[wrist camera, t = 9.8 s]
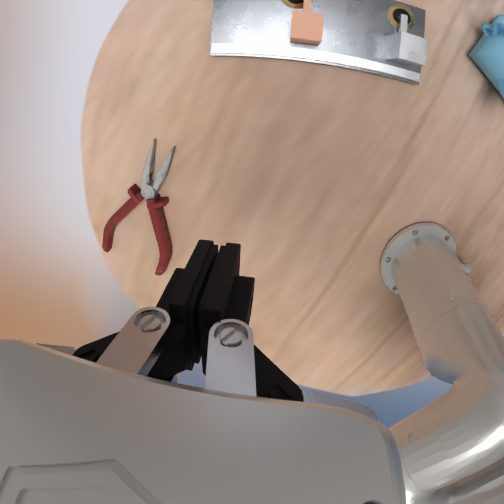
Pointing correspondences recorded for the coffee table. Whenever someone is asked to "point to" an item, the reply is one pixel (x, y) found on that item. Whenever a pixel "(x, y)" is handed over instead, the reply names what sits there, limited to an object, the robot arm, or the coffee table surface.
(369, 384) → the coffee table surface
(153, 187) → the pliers
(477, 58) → the teapot
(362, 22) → the plate
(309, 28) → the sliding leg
